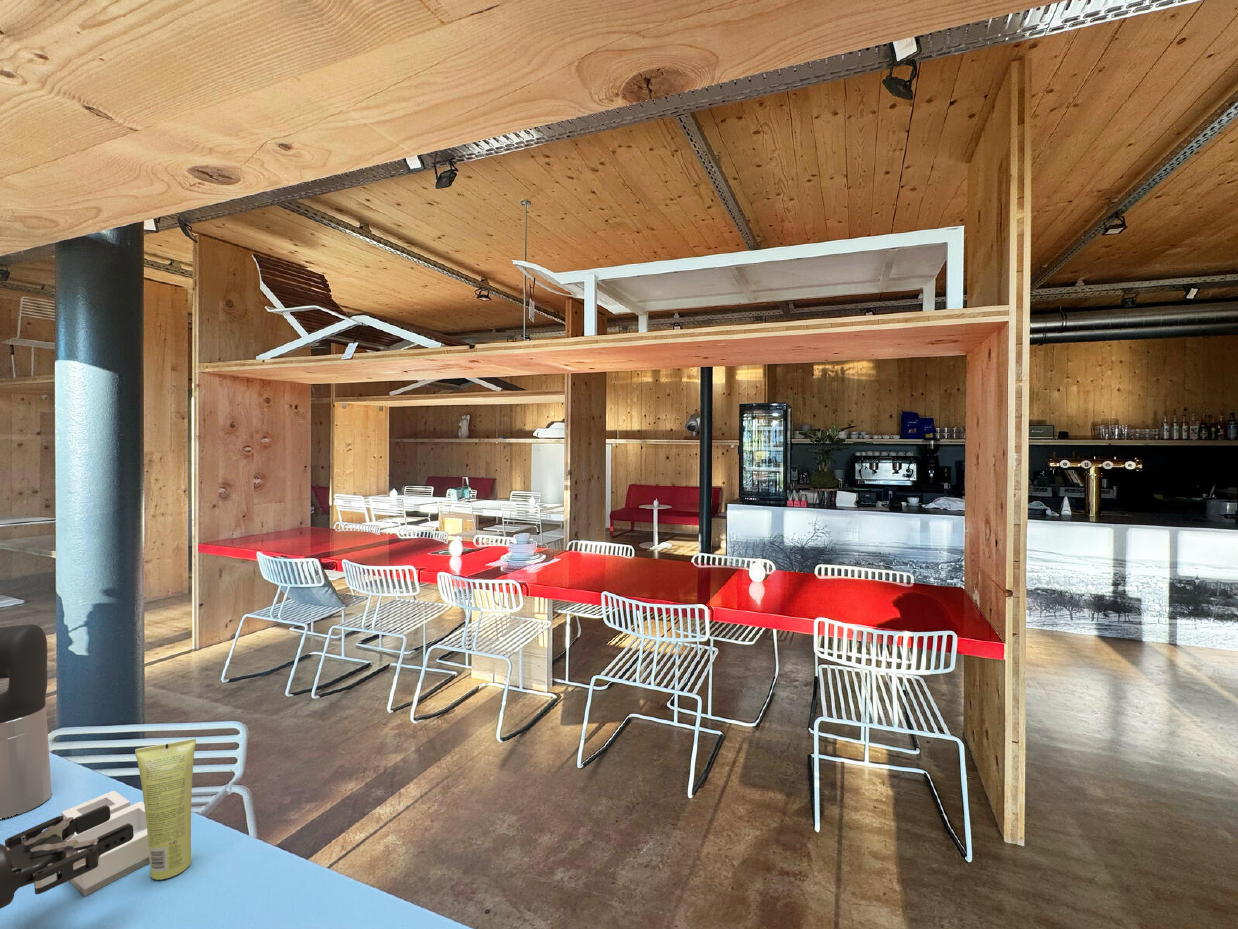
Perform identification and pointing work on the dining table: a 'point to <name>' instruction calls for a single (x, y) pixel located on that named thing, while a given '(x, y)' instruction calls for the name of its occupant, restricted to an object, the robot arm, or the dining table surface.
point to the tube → (167, 804)
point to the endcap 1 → (98, 805)
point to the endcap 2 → (115, 850)
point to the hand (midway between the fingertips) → (120, 820)
